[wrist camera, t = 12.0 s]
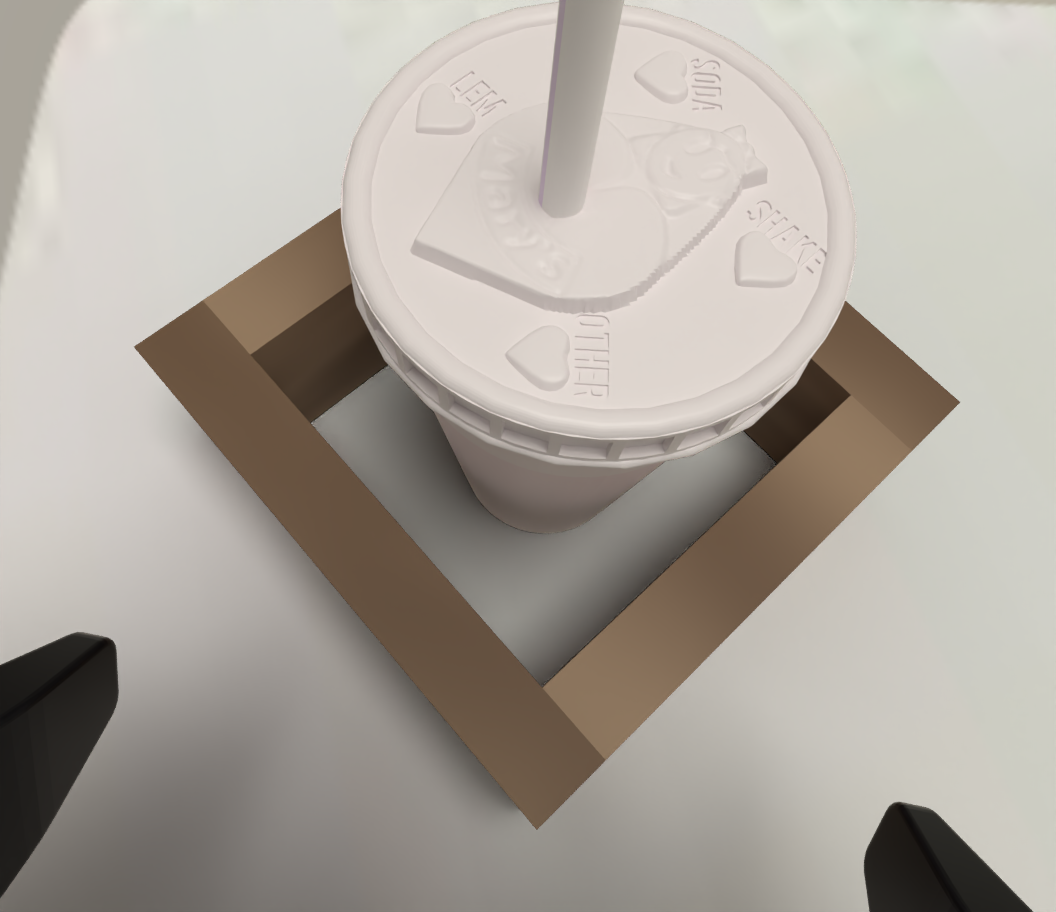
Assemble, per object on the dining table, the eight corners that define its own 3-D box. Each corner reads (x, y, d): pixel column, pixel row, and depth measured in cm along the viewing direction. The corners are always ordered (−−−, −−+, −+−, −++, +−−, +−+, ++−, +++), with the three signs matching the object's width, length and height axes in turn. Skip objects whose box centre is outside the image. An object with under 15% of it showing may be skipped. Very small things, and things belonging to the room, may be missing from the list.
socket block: (523, 809, 16) (537, 829, 12) (204, 426, 19) (133, 346, 15) (865, 469, 19) (960, 402, 15) (552, 175, 21) (567, 55, 18)
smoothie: (371, 378, 19) (131, -411, 6) (618, 303, 20) (876, -509, 7) (457, 635, 17) (383, 313, 4) (724, 538, 18) (1346, 33, 5)
